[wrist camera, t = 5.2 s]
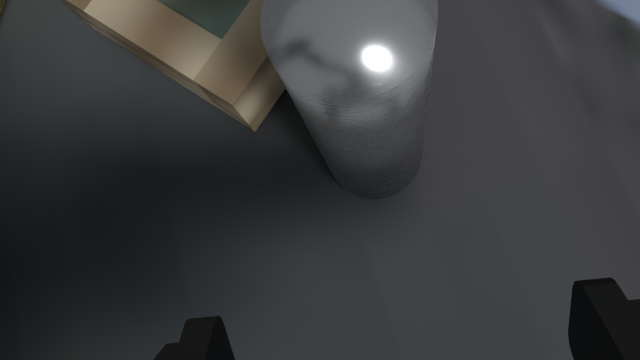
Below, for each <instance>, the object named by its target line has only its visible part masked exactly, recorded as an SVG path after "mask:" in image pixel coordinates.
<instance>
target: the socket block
mask: <svg viewBox="0 0 640 360" xmlns="http://www.w3.org/2000/svg"><path fill="white" fill-rule="evenodd" d="M62 1H63V2H64V3H65V4H66V5H68V6H69V7H70V8H71V9H72V10H73V11H74V12H75V13H76V14H78V15H79V16H80V17H81V18H82V19H83V20H84V21H85V22H87V23H88V24H89V25H90V26H91V27H92V28H93V29H95V30H96V31H98V32H100V33H101V34H103V35H104V36H106V37H107V38H109V39H110V40H112V41H114V42H115V43H117V44H118V45H120V46H121V47H123V48H125V49H126V50H128V51H129V52H131V53H132V54H134V55H135V56H137V57H139V58H140V59H142V60H143V61H145V62H146V63H148V64H150V65H151V66H153V67H154V68H156V69H157V70H159V71H160V72H162V73H164V74H165V75H167V76H168V77H170V78H171V79H173V80H175V81H176V82H178V83H179V84H181V85H182V86H184V87H185V88H187V89H189V90H190V91H192V92H193V93H195V94H196V95H198V96H200V97H201V98H203V99H204V100H206V101H207V102H209V103H211V104H212V105H214V106H215V107H217V108H218V109H220V110H221V111H223V112H225V113H226V114H228V115H229V116H231V117H232V118H234V119H236V120H237V121H239V122H240V123H242V124H243V125H245V126H246V127H248V128H250V129H251V130H253V131H254V132H256V130H257V129H258V127H259V126H260V124H261V123H262V122H263V120H264V119H265V117H266V116H267V114H268V113H269V112H270V110H271V109H272V107H273V106H274V104H275V103H276V102H277V100H278V99H279V97H280V96H281V94H282V93H283V92H284V90H285V89H286V88H285V86H284V84H283V82H282V80H281V78H280V76H279V75H278V73H277V71H276V69H275V67H274V65H273V63H272V62H271V60H270V58H269V56H268V54H267V52H266V49H265V47H264V44H263V40H262V36H261V28H260V14H261V8H262V3H263V0H62Z"/></svg>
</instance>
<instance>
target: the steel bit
mask: <svg viewBox="0 0 640 360" xmlns="http://www.w3.org/2000/svg"><path fill="white" fill-rule="evenodd" d="M437 19H438V2H437V0H263V3H262V8H261V14H260V28H261V36H262V40H263V44H264V47H265V49H266V52H267V54H268V56H269V58H270V60H271V62H272V63H273V65H274V67H275V69H276V71H277V73H278V75H279V76H280V78H281V80H282V82H283V84H284V86H285V88H286V89H287V91H288V93H289V95H290V97H291V99H292V100H293V102H294V104H295V106H296V108H297V110H298V112H299V113H300V115H301V117H302V119H303V121H304V123H305V125H306V126H307V128H308V130H309V132H310V134H311V136H312V137H313V139H314V141H315V143H316V145H317V147H318V149H319V150H320V152H321V154H322V156H323V158H324V160H325V161H326V163H327V165H328V167H329V169H330V171H331V173H332V174H333V176H334V178H335V179H336V181H337V182H338V183H339V184H340V185H341V186H342V187H343V188H344V189H345V190H347V191H348V192H350V193H352V194H353V195H356V196H359V197H362V198H368V199H380V198H385V197H389V196H392V195H394V194H396V193H398V192H399V191H401V190H402V189H404V188H405V187H406V186H407V185H408V184H409V183H410V182H411V181H412V179H413V178H414V177H415V175H416V173H417V171H418V168H419V165H420V161H421V153H422V145H423V137H424V128H425V120H426V112H427V103H428V95H429V87H430V78H431V70H432V62H433V53H434V45H435V36H436V28H437Z"/></svg>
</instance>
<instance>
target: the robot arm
mask: <svg viewBox="0 0 640 360" xmlns="http://www.w3.org/2000/svg"><path fill="white" fill-rule="evenodd" d="M568 337H569V344H570V348H571V352H572V355H573V358H574V360H640V299H637V300H628V299H627V298H626V296H625V295H624V293H623V292H622V290H621V289H620V287H619V286H618V284H617V283H616V281H615V280H614V279H612V278H601V279H590V280H580V281H575V282H574V284H573V288H572V298H571V308H570V318H569V328H568ZM154 360H235V358H234V355H233V352H232V349H231V345H230V342H229V339H228V336H227V333H226V329H225V326H224V323H223V320H222V318H221V317H220V316H214V317H203V318H193V319H188V320H187V321H186V322H185V325H184V328H183V331H182V334H181V338H180V341H179V343H169V344H166V345H165V346H164V347H163V348H162V350H161V351H160V352H159V353H158V355H157V356H156V357H155V358H154Z"/></svg>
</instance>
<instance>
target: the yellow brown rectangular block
mask: <svg viewBox="0 0 640 360" xmlns="http://www.w3.org/2000/svg"><path fill="white" fill-rule="evenodd" d="M5 2H6V0H0V15H1V13H2V10H3V8H4V5H5Z"/></svg>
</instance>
